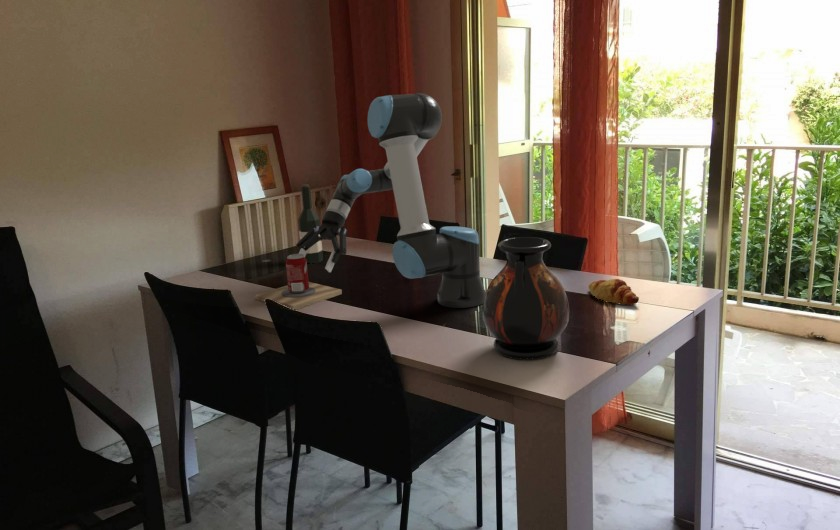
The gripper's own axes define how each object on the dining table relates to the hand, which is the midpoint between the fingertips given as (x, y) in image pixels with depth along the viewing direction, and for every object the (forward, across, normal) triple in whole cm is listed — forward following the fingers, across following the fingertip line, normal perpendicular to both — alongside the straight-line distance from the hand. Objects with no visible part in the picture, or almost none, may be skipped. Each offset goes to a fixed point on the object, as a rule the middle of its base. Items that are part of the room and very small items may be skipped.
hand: (311, 268), depth 245 cm
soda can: (+10, 0, +1) cm, 10 cm away
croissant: (-15, -93, -26) cm, 98 cm away
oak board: (+11, 0, 0) cm, 11 cm away
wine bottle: (-16, +26, -27) cm, 41 cm away
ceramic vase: (+19, -86, +8) cm, 89 cm away
